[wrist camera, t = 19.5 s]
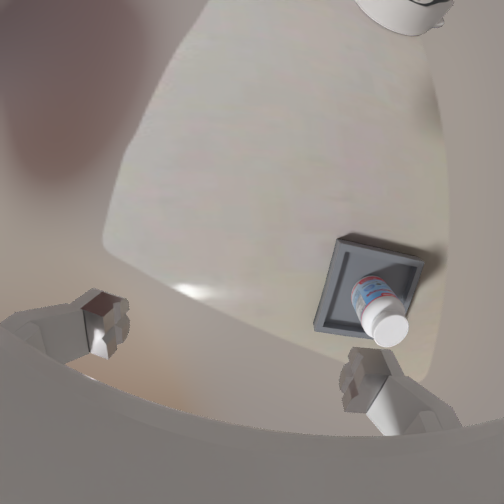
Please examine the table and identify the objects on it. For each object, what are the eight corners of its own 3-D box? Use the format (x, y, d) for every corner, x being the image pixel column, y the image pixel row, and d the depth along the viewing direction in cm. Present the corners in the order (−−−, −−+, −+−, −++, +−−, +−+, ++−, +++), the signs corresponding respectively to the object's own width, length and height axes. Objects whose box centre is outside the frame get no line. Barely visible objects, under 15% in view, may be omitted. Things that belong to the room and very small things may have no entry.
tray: (336, 238, 39) (340, 243, 37) (417, 257, 38) (424, 262, 36) (313, 322, 43) (314, 331, 41) (389, 333, 43) (393, 341, 40)
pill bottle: (390, 275, 39) (420, 309, 28) (381, 311, 40) (405, 352, 30) (353, 272, 39) (376, 307, 28) (346, 309, 41) (362, 352, 30)
